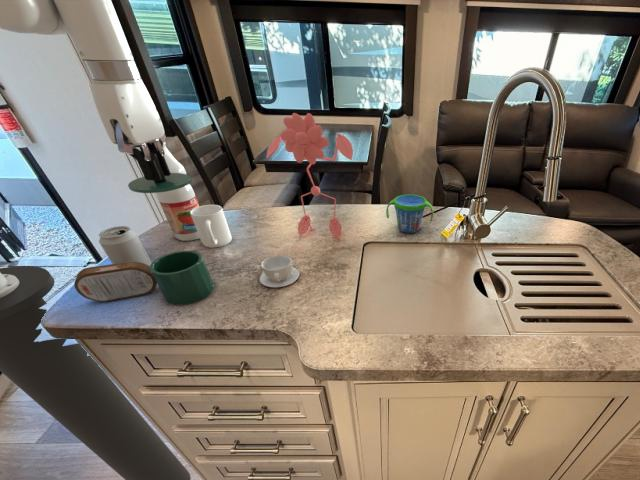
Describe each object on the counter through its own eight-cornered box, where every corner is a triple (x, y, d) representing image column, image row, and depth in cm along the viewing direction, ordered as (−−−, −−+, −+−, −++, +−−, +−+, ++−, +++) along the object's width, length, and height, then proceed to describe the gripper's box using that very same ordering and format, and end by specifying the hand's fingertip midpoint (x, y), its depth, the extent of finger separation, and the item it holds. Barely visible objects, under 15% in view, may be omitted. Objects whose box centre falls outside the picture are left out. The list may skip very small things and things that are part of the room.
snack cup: (382, 232, 106) (382, 202, 100) (391, 219, 114) (391, 191, 108) (428, 239, 104) (431, 208, 97) (434, 225, 112) (437, 197, 105)
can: (156, 275, 83) (133, 233, 76) (121, 284, 80) (94, 240, 72) (153, 262, 88) (132, 221, 81) (120, 270, 84) (95, 228, 77)
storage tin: (201, 305, 74) (187, 275, 69) (156, 304, 74) (138, 273, 69) (221, 280, 82) (210, 251, 77) (180, 279, 82) (167, 249, 77)
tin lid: (173, 197, 65) (159, 162, 61) (117, 194, 65) (99, 160, 61) (202, 179, 74) (192, 148, 70) (153, 177, 74) (139, 146, 70)
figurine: (289, 226, 108) (265, 106, 86) (363, 234, 105) (357, 112, 83) (266, 247, 96) (232, 114, 75) (349, 257, 93) (338, 121, 71)
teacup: (261, 269, 87) (257, 254, 84) (299, 265, 89) (296, 250, 86) (258, 291, 79) (253, 275, 76) (299, 286, 81) (296, 270, 78)
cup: (232, 233, 103) (222, 203, 96) (232, 251, 94) (221, 218, 88) (203, 237, 100) (191, 206, 94) (201, 256, 91) (187, 223, 85)
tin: (164, 286, 80) (149, 256, 74) (162, 293, 77) (146, 263, 72) (90, 299, 75) (68, 269, 69) (86, 307, 72) (62, 276, 67)
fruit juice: (189, 226, 106) (151, 133, 88) (215, 230, 104) (181, 135, 87) (168, 239, 98) (121, 140, 81) (195, 243, 97) (154, 143, 80)
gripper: (125, 70, 64) (164, 166, 75) (54, 74, 51) (114, 189, 62) (162, 71, 64) (196, 167, 75) (100, 76, 51) (152, 191, 62)
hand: (158, 176), depth 69 cm, fingers closed on tin lid, 2 cm apart
